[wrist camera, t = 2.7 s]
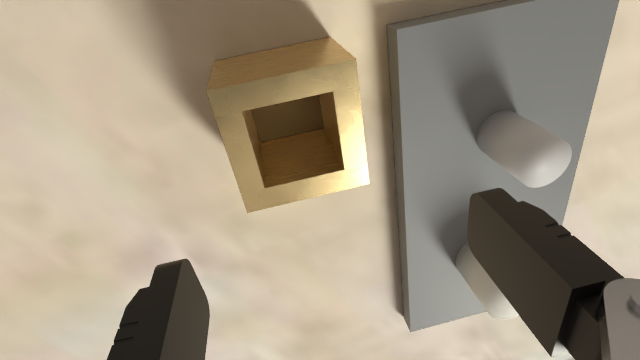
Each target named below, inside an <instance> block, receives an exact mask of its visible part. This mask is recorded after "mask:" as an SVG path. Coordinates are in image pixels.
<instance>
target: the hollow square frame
mask: <svg viewBox="0 0 640 360" xmlns="http://www.w3.org/2000/svg"><path fill="white" fill-rule="evenodd" d="M206 93H207V96H208V98H209V101H210V104H211V107H212V110H213V113H214V116H215V119H216V122H217V125H218V128H219V131H220V134H221V137H222V140H223V143H224V146H225V149H226V152H227V154H228V157H229V160H230V163H231V166H232V169H233V172H234V175H235V178H236V181H237V184H238V187H239V190H240V193H241V196H242V199H243V202H244V205H245V208H246V210H247V213H249V212H254V211H258V210H262V209H266V208H270V207H274V206H279V205H283V204H287V203H291V202H295V201H299V200H304V199H308V198H312V197H316V196H320V195H324V194H329V193H333V192H337V191H341V190H345V189H349V188H354V187H358V186H362V185H366V184H369V176H368V167H367V157H366V148H365V139H364V129H363V120H362V110H361V101H360V91H359V82H358V72H357V63H356V58H355V57H353V56H352V55H351V54H350V53H349V52H348V51H346V50H345V49H344V48H343V47H342V46H341V45H339V44H338V43H337V42H336V41H335V40H334V39H332V38H331V37H327V38H322V39H318V40H313V41H308V42H303V43H299V44H294V45H289V46H284V47H280V48H275V49H270V50H265V51H261V52H256V53H251V54H246V55H241V56H237V57H232V58H227V59H222V60H218V61H214V65H213V68H212V72H211V75H210V79H209V82H208V86H207V89H206ZM314 95H319V100H320V106H321V112H322V118H323V124H324V128H323V129H319V130H314V131H310V132H306V133H301V134H297V135H292V136H288V137H284V138H279V139H275V140H270V141H266V142H262V143H260V140H259V137H258V133H257V130H256V126H255V123H254V119H253V115H252V112H251V109H255V108H260V107H264V106H269V105H274V104H278V103H283V102H287V101H292V100H296V99H301V98H305V97H310V96H314Z"/></svg>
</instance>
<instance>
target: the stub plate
mask: <svg viewBox="0 0 640 360" xmlns="http://www.w3.org/2000/svg"><path fill="white" fill-rule="evenodd" d="M618 3H619V0H504V1H499V2H494V3H489V4H485V5H480V6H475V7H470V8H466V9H461V10H456V11H451V12H447V13H442V14H437V15H432V16H428V17H423V18H418V19H413V20H408V21H404V22H399V23H394V24H389V25H387V41H388V58H389V75H390V92H391V109H392V126H393V143H394V160H395V177H396V194H397V211H398V228H399V245H400V262H401V279H402V296H403V313H404V319H405V321H406V323H407V326H408V328H409V330H410V332H413V331H416V330H420V329H424V328H427V327H431V326H435V325H439V324H442V323H446V322H450V321H453V320H457V319H461V318H464V317H468V316H472V315H475V314H479V313H483V312H488V314H489V315H490V316H492V317H493V318H496V319H512V318H516V317H519V314H518V313H517V312H516V311H515V309H514V308H513V307H512V305H511V304H510V303H509V301H508V300H507V299H506V297H505V296H504V295H503V294H502V292H501V291H500V290H499V288H498V287H497V286H496V284H495V283H494V282H493V280H492V279H491V278H490V277H489V275H488V274H487V273H486V271H485V270H484V269H483V267H482V266H481V265H480V263H479V262H478V261H477V260H476V258H475V257H474V255H473V254H472V252H471V250H470V247H469V244H468V240H467V229H468V215H469V202H470V197H471V195H472V194H473V193H477V192H482V191H486V190H490V189H495V188H502V189H504V190H505V191H506V192H507V193H508V194H510V195H511V196H512V197H513V198H514V199H515V200H516V201H517V202H520V201H525V202H527V203H529V204H532V205H534V206H536V207H538V208H540V209H542V210H544V211H545V212H546V213H548V214H549V215H550V216H551V217H552V218H554V219H555V220H556V221H557V222H558V224H559V225H562V223H563V220H564V216H565V212H566V208H567V204H568V200H569V196H570V192H571V188H572V184H573V180H574V176H575V172H576V168H577V164H578V160H579V156H580V153H581V149H582V145H583V141H584V137H585V133H586V129H587V125H588V121H589V117H590V113H591V109H592V105H593V101H594V97H595V93H596V90H597V86H598V82H599V78H600V74H601V70H602V66H603V62H604V58H605V54H606V50H607V46H608V42H609V38H610V34H611V30H612V26H613V23H614V19H615V15H616V11H617V7H618Z"/></svg>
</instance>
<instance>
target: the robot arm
mask: <svg viewBox="0 0 640 360" xmlns="http://www.w3.org/2000/svg"><path fill="white" fill-rule="evenodd" d="M467 240H468V244H469V247H470V250H471V252H472V254H473V255H474V257H475V258H476V260H477V261H478V262H479V263H480V265H481V266H482V267H483V269H484V270H485V271H486V273H487V274H488V275H489V277H490V278H491V279H492V280H493V282H494V283H495V284H496V286H497V287H498V288H499V290H500V291H501V292H502V294H503V295H504V296H505V297H506V299H507V300H508V301H509V303H510V304H511V305H512V307H513V308H514V309H515V311H516V312H517V313H518V314H519V316H520V317H521V318H522V320H523V321H524V322H525V324H526V325H527V326H528V328H529V329H530V330H531V331H532V333H533V334H534V335H535V337H536V338H537V339H538V341H539V342H540V343H541V345H542V346H543V347H544V348H545V350H546V351H547V352H548V354H549V355H550V356H551V357H554V356H558V355H562V354H565V353H570V354H571V355H572V356H573V358H574V359H575V360H640V279H632V278H624V277H623V276H621V275H620V274H619V273H618V272H617V271H615V270H614V269H613V268H612V267H611V266H609V265H608V264H607V263H606V262H605V261H604V260H602V259H601V258H600V257H599V256H598V255H596V254H595V253H594V252H593V251H592V250H590V249H589V248H588V247H587V246H586V245H584V244H583V243H582V242H581V241H580V240H579V239H577V238H576V237H575V236H571V233H570V232H569V231H568V230H567V229H565V228H564V227H563V226H562V225H559V224H558V222H557V221H556V220H555V219H554V218H552V217H551V216H550V215H549V214H548V213H546V212H545V211H544V210H542V209H540V208H538V207H536V206H534V205H532V204H529V203H527V202H525V201H520V202H517V201H516V200H515V199H514V198H513V197H512V196H511V195H510V194H508V193H507V192H506V191H505V190H504V189H502V188H495V189H490V190H486V191H482V192H477V193H473V194H472V195H471V197H470V202H469V215H468V229H467ZM209 317H210V314H209V304H208V300H207V297H206V295H205V292H204V290H203V288H202V286H201V284H200V282H199V280H198V278H197V276H196V274H195V271H194V269H193V267H192V265H191V263H190V262H189V260H188V259H182V260H178V261H173V262H169V263H164V264H160V265H157V266H156V268H155V270H154V273H153V276H152V280H151V283H150V286H149V287H147V288H143V289H140V290H139V291H138V292H137V293H136V295H135V296H134V297H133V299H132V300H131V301H130V302H129V304H128V305H127V306H126V309H125V311H124V314H123V317H122V320H121V322H120V325H119V326H120V329H118V331H117V333H116V336H115V339H114V345H112V347H111V350H110V353H109V355H108V358H107V360H205V353H206V344H207V336H208V327H209Z"/></svg>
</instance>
